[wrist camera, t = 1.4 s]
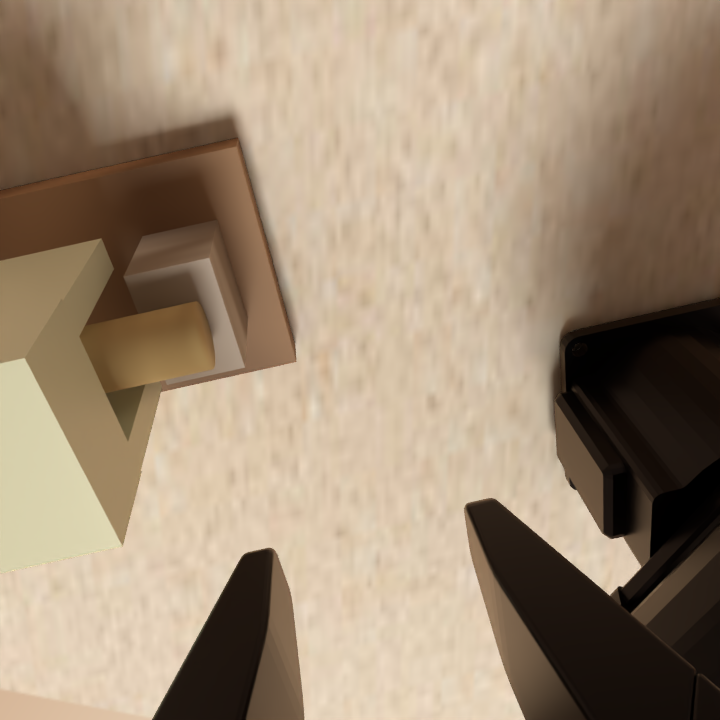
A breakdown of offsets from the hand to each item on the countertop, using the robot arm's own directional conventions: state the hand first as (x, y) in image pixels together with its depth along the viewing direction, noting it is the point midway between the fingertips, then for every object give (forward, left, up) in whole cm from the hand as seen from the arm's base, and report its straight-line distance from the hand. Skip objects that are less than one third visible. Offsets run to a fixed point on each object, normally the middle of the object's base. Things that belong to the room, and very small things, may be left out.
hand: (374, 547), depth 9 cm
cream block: (+7, 0, -9) cm, 12 cm away
